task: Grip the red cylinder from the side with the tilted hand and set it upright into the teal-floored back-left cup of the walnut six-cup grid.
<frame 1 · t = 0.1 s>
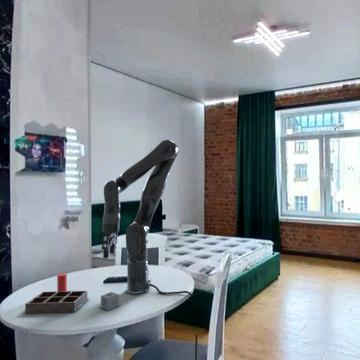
hand: (108, 255, 148), 17 cm above the table, tool pointing down, fingers open, 8 cm apart
red cylinder: (62, 293, 144), on the table
grid: (58, 306, 131), on the table
dice cube: (109, 307, 131), on the table
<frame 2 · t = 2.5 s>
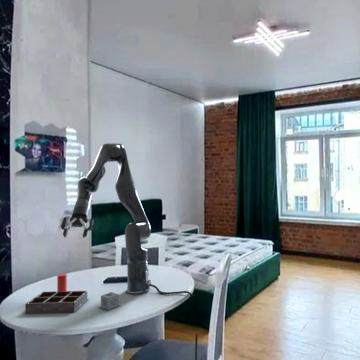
hand: (74, 236, 153), 25 cm above the table, tool tilted 40°, fingers open, 8 cm apart
nothing on the table moved.
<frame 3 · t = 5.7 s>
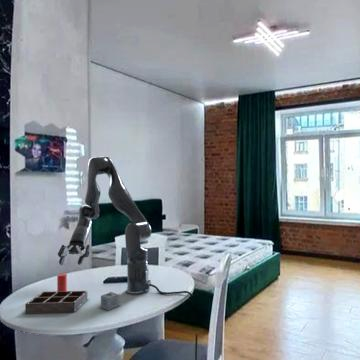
hand: (69, 264, 152), 12 cm above the table, tool tilted 45°, fingers open, 8 cm apart
nothing on the table moved.
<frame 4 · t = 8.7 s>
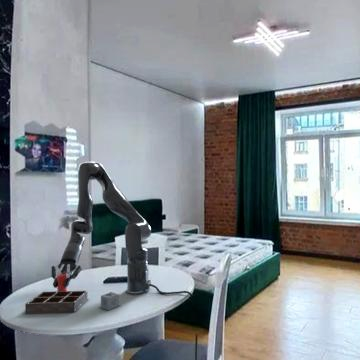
hand: (60, 286, 142), 4 cm above the table, tool tilted 45°, fingers closed on red cylinder, 3 cm apart
red cylinder: (62, 293, 144), on the table, touching gripper
everything else where it was.
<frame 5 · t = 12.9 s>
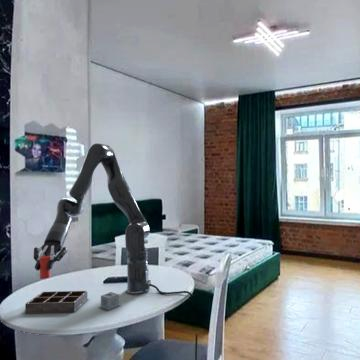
hand: (42, 269, 129), 16 cm above the table, tool tilted 45°, fingers closed on red cylinder, 3 cm apart
red cylinder: (45, 277, 131), point 12 cm above the table, touching gripper
everything else where it was.
when the fingers open (5 cm above the table, at t = 16.9 s): red cylinder stays where it is, resting on grid.
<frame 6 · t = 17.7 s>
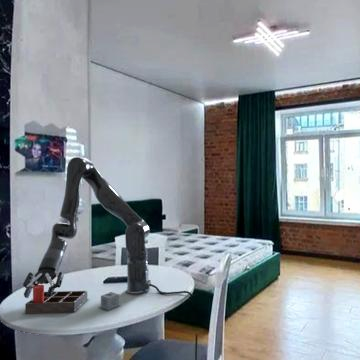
hand: (37, 297, 126), 6 cm above the table, tool tilted 45°, fingers open, 8 cm apart
red cylinder: (38, 308, 127), point 1 cm above the table, touching grid
everything else where it was.
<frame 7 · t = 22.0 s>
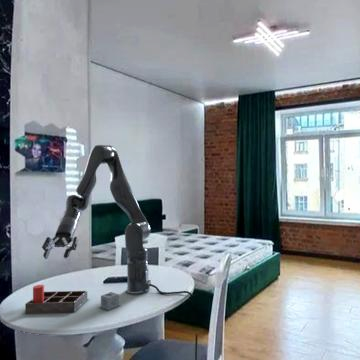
hand: (55, 257, 139), 18 cm above the table, tool tilted 45°, fingers open, 8 cm apart
nothing on the table moved.
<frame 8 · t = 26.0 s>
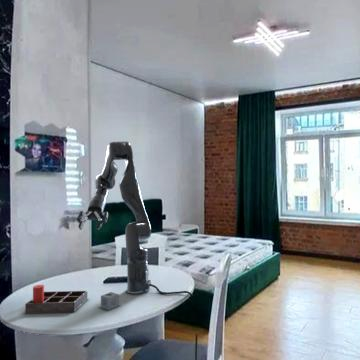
hand: (89, 228, 155), 29 cm above the table, tool tilted 45°, fingers open, 8 cm apart
nothing on the table moved.
at the end: red cylinder 0.1 cm from the target spot in the grid, point 0.7 cm above the grid's base; red cylinder tilted 0°; the gripper is holding nothing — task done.
